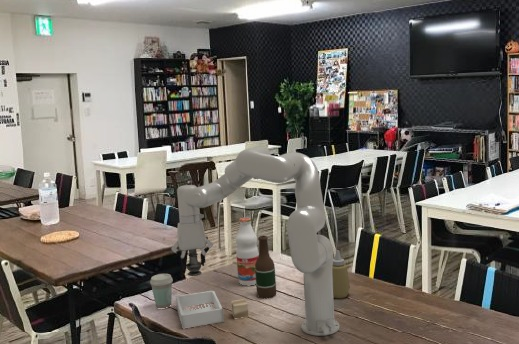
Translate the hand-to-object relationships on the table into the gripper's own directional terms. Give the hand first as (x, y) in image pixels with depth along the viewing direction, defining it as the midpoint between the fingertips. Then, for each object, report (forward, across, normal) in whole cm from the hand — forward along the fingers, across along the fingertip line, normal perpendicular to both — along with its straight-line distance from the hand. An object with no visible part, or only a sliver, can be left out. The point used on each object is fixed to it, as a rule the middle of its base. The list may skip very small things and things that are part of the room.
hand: (193, 265), depth 198 cm
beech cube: (+17, -14, +11) cm, 25 cm away
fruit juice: (+18, -25, -21) cm, 37 cm away
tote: (+17, 0, +5) cm, 18 cm away
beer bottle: (+18, -28, -4) cm, 33 cm away
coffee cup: (+18, +12, -9) cm, 23 cm away
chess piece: (+3, 0, 0) cm, 3 cm away
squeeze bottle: (+18, -54, +8) cm, 57 cm away
